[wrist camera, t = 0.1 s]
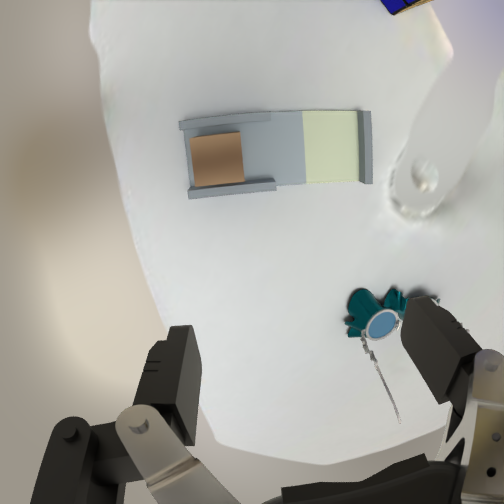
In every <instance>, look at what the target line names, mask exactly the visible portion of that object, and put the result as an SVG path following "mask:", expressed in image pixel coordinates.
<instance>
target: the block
mask: <svg viewBox="0 0 504 504" xmlns="http://www.w3.org/2000/svg"><path fill="white" fill-rule="evenodd" d="M189 140H190V149H191V157H192V165H193V173H194V181H195V187H199V186H208V185H217V184H226V183H236V182H245V179H244V168H243V157H242V147H241V136H240V131H238V132H228V133H219V134H211V135H203V136H196V137H192V138H189Z"/></svg>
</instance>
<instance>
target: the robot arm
mask: <svg viewBox="0 0 504 504" xmlns="http://www.w3.org/2000/svg"><path fill="white" fill-rule="evenodd" d="M401 341H402V344H403V346H404V348H405V349H406V351H407V353H408V354H409V356H410V357H411V359H412V361H413V362H414V364H415V365H416V367H417V369H418V370H419V372H420V374H421V375H422V377H423V379H424V380H425V382H426V384H427V385H428V387H429V389H430V390H431V392H432V394H433V395H434V397H435V399H436V401H437V402H438V404H442V403H445V402H447V401H450V402H451V403H452V405H451V407H450V409H449V413H448V418H447V422H446V427H445V431H444V436H443V440H442V444H441V447H440V450H439V453H438V455H437V457H436V459H435V460H434V461H427V459H426V456H425V454H424V453H423V454H421V455H418V456H415V457H412V458H409V459H406V460H403V461H400V462H397V463H394V464H392V465H390V466H389V467H387V468H385V469H384V470H382V471H380V472H378V473H376V474H374V475H373V476H371V477H369V478H367V479H365V480H363V481H360V482H317V483H311V484H305V485H299V486H291V487H283V488H281V493H282V495H281V496H279V497H276V498H273V499H271V500H269V501H266V502H264V503H262V504H504V356H503V355H502V354H501V353H499V352H497V351H495V350H492V349H484V350H482V348H481V347H480V346H479V345H478V344H477V342H476V341H475V340H474V339H473V338H472V337H471V335H470V334H469V333H468V332H467V331H466V330H465V329H464V328H462V325H461V324H460V323H459V322H457V320H456V318H455V317H454V316H453V315H452V314H451V313H450V312H449V311H447V310H445V309H444V308H442V307H440V306H437V305H436V304H435V303H434V302H433V301H432V300H431V298H430V297H429V296H421V297H415V298H410V299H409V300H408V301H407V304H406V309H405V314H404V319H403V323H402V328H401ZM201 375H202V364H201V357H200V353H199V349H198V345H197V341H196V337H195V333H194V329H193V327H192V325H183V326H171V327H170V329H169V333H168V336H167V340H164V341H157V342H156V344H155V345H154V346H153V347H152V348H151V349H150V350H149V353H148V356H147V360H146V363H145V366H144V369H143V372H142V376H141V379H140V382H139V385H138V388H137V392H136V396H135V399H134V402H133V405H132V406H131V407H129V408H127V409H125V410H124V411H123V412H121V414H120V415H119V416H118V418H117V420H116V421H115V422H111V423H106V424H100V425H95V426H90V425H89V424H88V423H87V421H85V420H84V419H83V418H80V417H67V418H65V419H63V420H61V421H60V422H59V423H57V425H56V426H55V427H54V429H53V431H52V434H51V436H50V439H49V442H48V445H47V448H46V451H45V454H44V457H43V460H42V463H41V467H40V470H39V473H38V477H37V480H36V484H35V487H34V491H33V494H32V498H31V502H30V504H123V503H124V495H125V486H126V483H127V482H133V481H138V480H145V481H146V483H147V488H148V489H149V491H150V493H151V494H152V496H153V497H154V499H155V500H156V501H157V503H158V504H241V503H240V502H239V501H238V500H237V499H236V498H235V497H233V495H232V494H231V493H230V492H228V490H227V489H226V488H225V487H224V486H223V485H222V484H221V483H220V482H219V481H218V480H217V479H216V478H215V477H214V476H213V475H212V473H211V472H210V471H209V470H208V469H207V468H206V467H205V466H204V464H203V463H201V461H200V460H199V459H197V458H194V457H193V456H192V454H191V453H190V452H189V451H188V450H187V449H186V447H185V446H195V436H196V425H197V414H198V404H199V394H200V385H201Z"/></svg>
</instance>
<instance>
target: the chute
mask: <svg viewBox="0 0 504 504" xmlns="http://www.w3.org/2000/svg"><path fill="white" fill-rule="evenodd" d="M179 128H180V130H184V138H185V146H186V154H187V162H188V170H189V178H190V185H191V187H190V188H189V190H188V198H189V199H197V198H205V197H214V196H223V195H233V194H243V193H254V192H265V191H277V190H276V186H283V185H297V184H312V183H329V182H350V181H360V182H362V183H364V184H372V183H373V159H372V124H371V111H288V112H256V113H244V114H233V115H224V116H215V117H207V118H199V119H192V120H185V121H179ZM238 131H240V136H241V147H242V157H243V168H244V179H245V182H236V183H226V184H217V185H208V186H199V187H195V181H194V173H193V165H192V157H191V149H190V140H189V138H192V137H196V136H203V135H211V134H219V133H228V132H238Z"/></svg>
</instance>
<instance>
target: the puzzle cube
mask: <svg viewBox="0 0 504 504" xmlns="http://www.w3.org/2000/svg"><path fill="white" fill-rule="evenodd" d="M381 1H382V2H383V4H384V5H385V6H386V8H387V9H388V10H389V12H390V13H391V14H393V15H396V14H398V13H400V12H403V11H405V10H408V9H411V8H413V7H415V6H419V5H421V4H424V3H427V2H430V1H432V0H381Z"/></svg>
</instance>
